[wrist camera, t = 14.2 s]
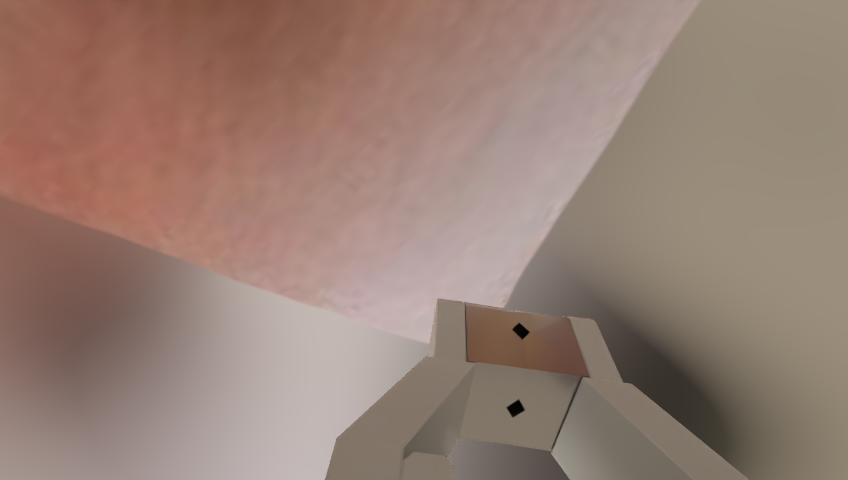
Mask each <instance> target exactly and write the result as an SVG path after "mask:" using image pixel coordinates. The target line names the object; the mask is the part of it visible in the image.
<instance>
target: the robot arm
mask: <svg viewBox="0 0 848 480" xmlns="http://www.w3.org/2000/svg"><path fill="white" fill-rule="evenodd" d="M458 439H466V440H476V441H485V442H495V443H505V444H510V445H516V446H523V447H529V448H535V449H541V450H547V451H552V455H553V456H554V458H555V459H556V460H557V462H558V463H559V465H560V466H561V468H562V469H563V470H564V472H565V473H566V475H567V476H568V477H569V479H570V480H749V479H747V478H746V477H745V476H744V475H742V474H741V473H740V472H739V471H737V470H736V469H735V468H734V467H733V466H731V465H730V464H729V463H728V462H727V461H725V460H724V459H723V458H722V457H720V456H719V455H718V454H716V453H715V452H714V451H713V450H712V449H711V448H709V447H708V446H707V445H706V444H704V443H703V442H702V441H701V440H700V439H698V438H697V437H696V436H694V435H693V434H692V433H691V432H690V431H689V430H687V429H686V428H685V427H684V426H682V425H681V424H680V423H679V422H678V421H676V420H675V419H674V418H672V417H671V416H670V415H669V414H668V413H666V412H665V411H664V410H663V409H662V408H660V407H659V406H658V405H657V404H655V403H654V402H653V401H652V400H650V399H649V398H648V397H647V396H645V395H644V394H643V393H642V392H641V391H639V390H638V389H637V388H636V387H635V386H633V385H632V384H628V383H623V382H622V379H621V377H620V375H619V373H618V370H617V368H616V366H615V364H614V362H613V360H612V357H611V355H610V353H609V351H608V348H607V346H606V344H605V342H604V340H603V338H602V335H601V333H600V331H599V329H598V326H597V324H596V322H595V321H593V320H592V319H587V318H578V317H568V316H565V317H562V316H554V315H546V314H537V313H529V312H522V311H515V310H511V309H505V308H499V307H492V306H486V305H479V304H473V303H467V302H464V303H463V302H460V301H452V300H445V299H438V300H437V303H436V309H435V315H434V321H433V327H432V332H431V338H430V344H429V352H428V356H426V357H425V358H424V359H423V360H422V361H420V362H419V363H418V364H417V365H416V366H415V367H414V368H413V369H412V370H411V371H410V372H409V373H407V374H406V375H405V376H404V377H403V378H402V379H401V380H400V381H399V382H398V383H396V384H395V385H394V386H393V387H392V388H391V389H390V390H389V391H388V392H387V393H386V394H384V396H382V397H381V398H380V399H379V400H378V401H377V402H376V403H375V404H374V405H373V406H371V407H370V408H369V409H368V410H367V411H366V412H365V413H364V414H363V415H362V416H361V417H359V418H358V419H357V420H356V421H355V422H354V423H353V424H352V425H351V426H350V427H349V428H348V429H346V430H345V431H344V432H343V433H342V434H341V435H340V436H339V437H338V438H337V439H336V442H335V446H334V450H333V453H332V457H331V461H330V464H329V468H328V471H327V475H326V478H325V480H454V465H453V464H452V463H451V462H449V460H448V459H447V457H448V455H449V454H450V452H451V451H452V449H453V448H454V446H455V445H456V443H457V442H458Z"/></svg>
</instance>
